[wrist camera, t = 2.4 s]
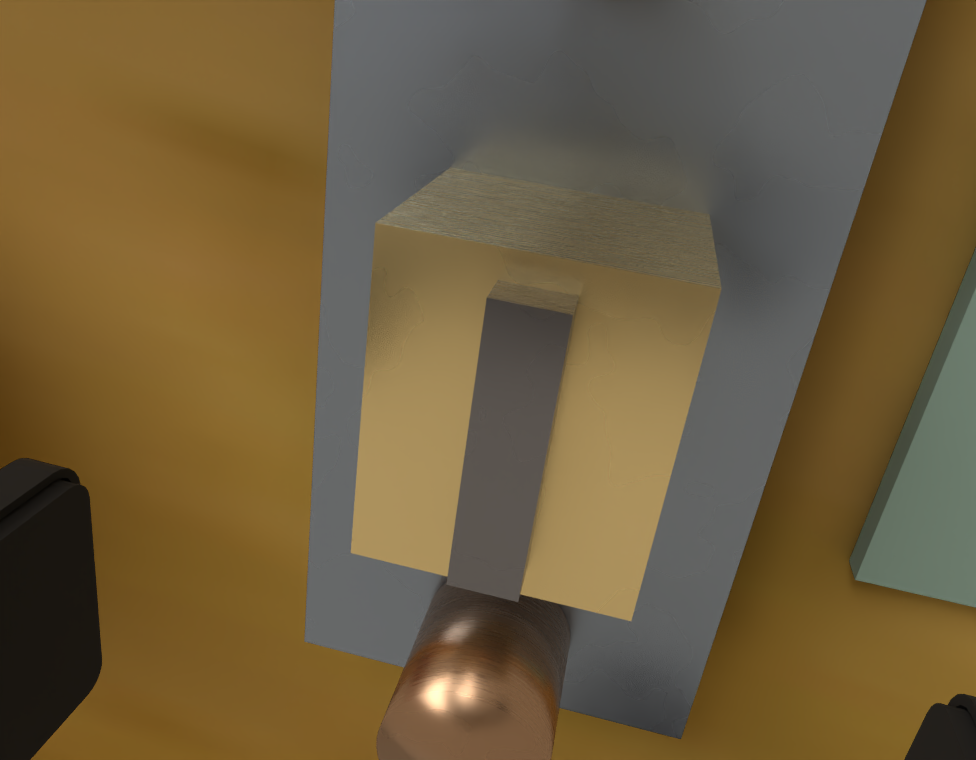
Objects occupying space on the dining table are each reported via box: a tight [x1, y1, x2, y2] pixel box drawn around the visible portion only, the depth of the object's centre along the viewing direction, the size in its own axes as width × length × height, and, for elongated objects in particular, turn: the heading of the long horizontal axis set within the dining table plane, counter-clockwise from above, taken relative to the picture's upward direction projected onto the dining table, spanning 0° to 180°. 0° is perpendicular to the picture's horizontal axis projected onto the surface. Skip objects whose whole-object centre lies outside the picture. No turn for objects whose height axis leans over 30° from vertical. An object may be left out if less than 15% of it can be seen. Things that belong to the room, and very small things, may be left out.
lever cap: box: [351, 168, 722, 621], centre depth 15 cm, size 6×5×5 cm
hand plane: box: [305, 0, 926, 760], centre depth 16 cm, size 20×10×10 cm, turn 172°
